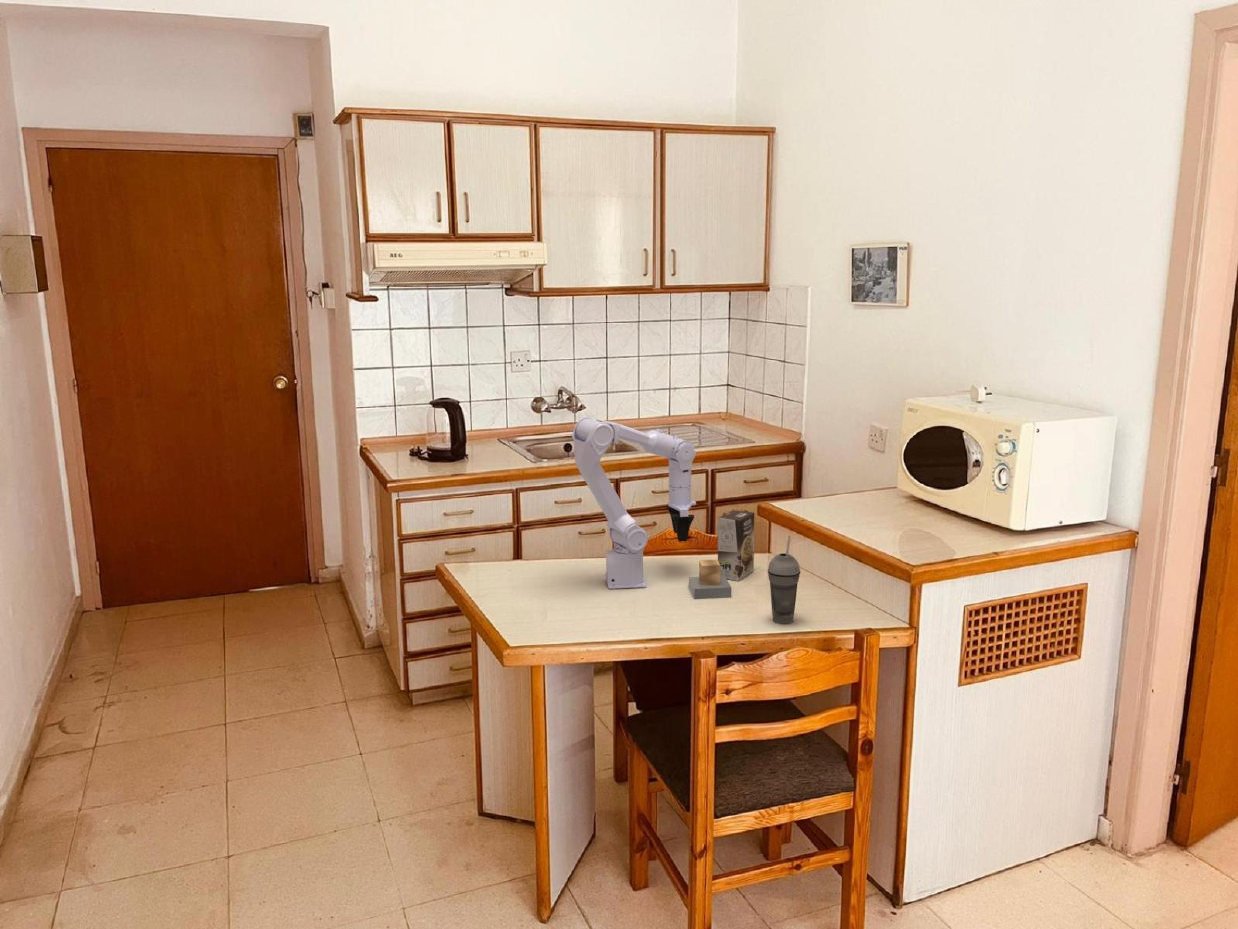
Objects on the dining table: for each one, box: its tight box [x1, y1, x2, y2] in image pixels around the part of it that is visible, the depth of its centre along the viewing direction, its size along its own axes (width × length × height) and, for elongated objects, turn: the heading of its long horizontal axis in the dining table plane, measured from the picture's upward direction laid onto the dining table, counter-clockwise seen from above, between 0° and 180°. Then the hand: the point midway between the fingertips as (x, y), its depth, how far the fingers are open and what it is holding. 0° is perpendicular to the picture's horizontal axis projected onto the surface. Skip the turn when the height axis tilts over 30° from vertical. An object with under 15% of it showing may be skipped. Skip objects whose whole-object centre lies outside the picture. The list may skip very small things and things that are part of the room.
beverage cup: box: [767, 535, 801, 625], centre depth 216 cm, size 7×7×20 cm
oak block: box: [698, 558, 720, 585], centre depth 237 cm, size 4×4×5 cm
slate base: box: [688, 576, 732, 600], centre depth 238 cm, size 9×9×2 cm
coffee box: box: [717, 509, 755, 582], centre depth 248 cm, size 9×6×16 cm
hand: (680, 536), depth 250 cm, fingers open, 7 cm apart
